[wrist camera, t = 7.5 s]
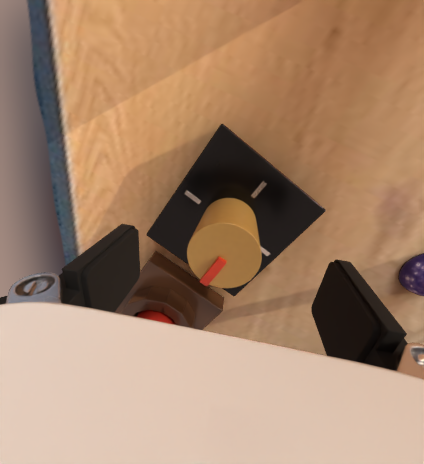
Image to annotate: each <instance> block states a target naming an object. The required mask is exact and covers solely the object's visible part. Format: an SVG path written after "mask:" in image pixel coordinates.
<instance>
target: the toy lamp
mask: <svg viewBox="0 0 424 464" xmlns="http://www.w3.org/2000/svg"><path fill="white" fill-rule="evenodd" d="M399 280H400V283H401V285H402V286H403V287H404V288H406V289H407V290H409V291H411V292H413V293H415V294H418V295H421V296H424V254H421V255H418V256H416V257H414V258H412V259H411V260H409V261H408V262H406V263H405V264H404V266H403V267H402V269H401V270H400V273H399Z"/></svg>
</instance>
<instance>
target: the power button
mask: <svg viewBox="0 0 424 464" xmlns="http://www.w3.org/2000/svg"><path fill="white" fill-rule="evenodd" d="M136 317H139V318H144V319H149V320H154V321H159V322H164V323H169V324H174V325H176V324H175V322H174V321H173V319H172V318H170V317H169V316H167V315H166V314H164V313H163V312H159V311H154V310H145V311H142V312H141V313H139V314H138V315H137V316H136Z"/></svg>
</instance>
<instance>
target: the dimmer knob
mask: <svg viewBox="0 0 424 464" xmlns="http://www.w3.org/2000/svg"><path fill="white" fill-rule="evenodd" d="M187 259H188V263H189V266H190V268H191V270H192V271H193V273H194V274H195V275H196V276H197V277H198V278H199V279H200V283H202V284H203V285H205V286H208V285H211V286H214V287H219V288H234V287H238V286H241V285H243V284H245V283H247V282H248V281H250V280H251V279H252V278H253V277H254V276H255V275H256V273H257V272H258V270H259V268H260V265H261V259H262V255H261V247H260V241H259V235H258V229H257V222H256V217H255V214H254V212H253V210H252V209H251V208H250V207H249V206H248V205H247V204H246V203H244V202H243V201H241V200H238V199H235V198H223V199H219V200H217V201H215V202H213V203H212V204H211V205H210V206H209V207H208V208H207V209H206V211H205V212H204V214H203V216H202V218H201V220H200V222H199V224H198V226H197V228H196V230H195V232H194V234H193V236H192V238H191V240H190V242H189V244H188V248H187Z"/></svg>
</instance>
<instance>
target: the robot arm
mask: <svg viewBox="0 0 424 464" xmlns="http://www.w3.org/2000/svg"><path fill="white" fill-rule="evenodd" d="M62 271H63V273H62V274H61V275H59V276H57V275H56V274H53V273H37V274H34V275H29V276H27V277H24V278H22V279H21V280H19V281H17V282H16V283H14V285H12V286H11V288H10V290H9V293H8V296H5V297H1V298H0V464H424V345H423V344H420V343H407V342H406V340H405V339H404V337H405V336H406V332H405V331H404V330H403V328H402V327H401V326H400V325H399V323H398V322H397V321H396V320H395V318H394V317H393V316H392V314H391V313H390V312H389V311H388V309H387V308H386V307H385V306H384V304H383V303H382V302H381V300H380V299H379V298H378V297H377V295H376V294H375V293H374V292H373V290H372V289H371V288H370V286H369V285H368V284H367V283H366V281H365V280H364V279H363V278H362V276H361V275H360V274H359V272H358V271H357V270H356V269H355V267H354V266H353V265H352V264H351V263H350V262H347V261H341V260H335V261H334V262H330V263H329V265H328V268H327V270H326V273H325V275H324V278H323V280H322V282H321V285H320V287H319V290H318V292H317V295H316V297H315V299H314V302H313V304H312V315H313V317H314V320H315V323H316V326H317V329H318V331H319V334H320V337H321V340H322V343H323V345H324V348H325V351H326V354H327V356H326V355H321V354H316V353H312V352H307V351H302V350H297V349H292V348H288V347H283V346H278V345H273V344H268V343H263V342H258V341H253V340H248V339H243V338H239V337H234V336H229V335H224V334H219V333H214V332H209V331H204V330H199V329H194V328H189V327H184V326H179V325H174V324H169V323H164V322H159V321H154V320H149V319H144V318H139V317H134V316H129V315H124V314H118V313H114V312H115V311H116V310H117V308H118V307H119V306H120V304H121V303H122V301H123V300H124V299H125V297H126V296H127V295H128V293H129V292H130V290H131V289H132V288H133V286H134V285H135V284H136V282H137V281H138V279H139V276H140V261H139V236H138V230H137V229H135V227H134V226H131V225H125V224H121V225H120V226H119V227H117V228H116V229H114V230H113V231H112V232H110V233H109V234H108V235H106V236H105V237H104V238H102V239H101V240H100V241H98V242H97V243H96V244H94V245H93V246H92V247H90V248H89V249H88V250H86V251H85V252H84V253H82V254H81V255H80V256H78V257H77V258H76V259H74V260H73V261H72V262H70V263H69V264H68V265H66V266H65V267H64V268H62Z"/></svg>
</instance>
